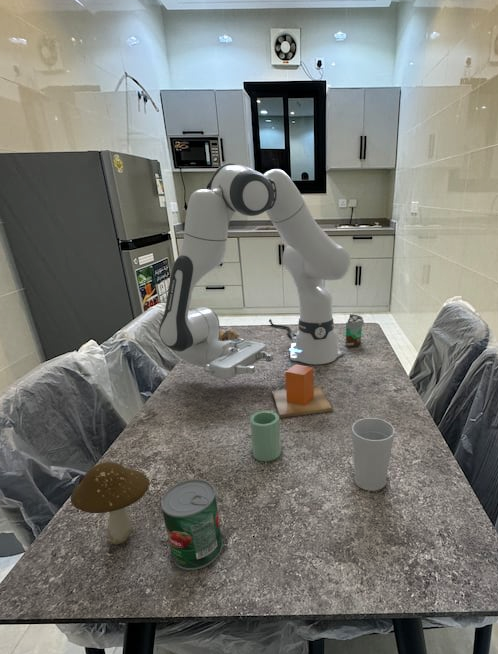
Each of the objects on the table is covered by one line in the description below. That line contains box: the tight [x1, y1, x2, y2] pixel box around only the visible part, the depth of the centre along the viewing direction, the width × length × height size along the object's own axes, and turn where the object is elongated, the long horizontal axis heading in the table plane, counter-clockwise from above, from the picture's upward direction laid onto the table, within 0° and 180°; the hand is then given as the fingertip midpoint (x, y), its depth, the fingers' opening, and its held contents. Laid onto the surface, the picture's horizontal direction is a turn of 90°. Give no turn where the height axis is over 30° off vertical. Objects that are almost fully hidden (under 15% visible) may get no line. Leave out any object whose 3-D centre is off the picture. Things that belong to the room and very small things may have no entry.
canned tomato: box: [160, 478, 224, 571], centre depth 60 cm, size 8×8×11 cm
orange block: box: [284, 363, 315, 406], centre depth 104 cm, size 6×6×9 cm
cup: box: [351, 417, 396, 492], centre depth 74 cm, size 8×8×12 cm
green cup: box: [249, 410, 282, 462], centre depth 84 cm, size 6×6×9 cm
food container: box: [345, 313, 365, 348], centre depth 147 cm, size 12×6×10 cm, turn 168°
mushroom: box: [70, 461, 151, 545], centre depth 61 cm, size 9×11×15 cm
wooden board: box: [272, 385, 333, 419], centre depth 106 cm, size 14×14×1 cm
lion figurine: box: [219, 329, 240, 341], centre depth 143 cm, size 15×5×9 cm, turn 44°
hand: (263, 364), depth 108 cm, fingers open, 8 cm apart
